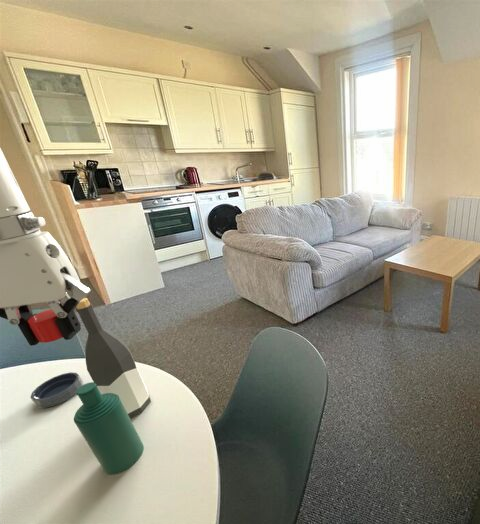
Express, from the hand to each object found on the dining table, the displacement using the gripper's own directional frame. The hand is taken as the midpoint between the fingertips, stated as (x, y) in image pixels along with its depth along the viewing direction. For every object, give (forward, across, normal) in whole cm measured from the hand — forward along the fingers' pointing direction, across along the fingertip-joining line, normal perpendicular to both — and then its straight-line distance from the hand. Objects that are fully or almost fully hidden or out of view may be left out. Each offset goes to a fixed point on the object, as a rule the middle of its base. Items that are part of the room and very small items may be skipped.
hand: (56, 336), depth 46 cm
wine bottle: (+30, +3, -13) cm, 33 cm away
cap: (0, 0, 0) cm, 0 cm away
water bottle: (+30, -1, 0) cm, 30 cm away
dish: (+30, +23, -23) cm, 45 cm away
